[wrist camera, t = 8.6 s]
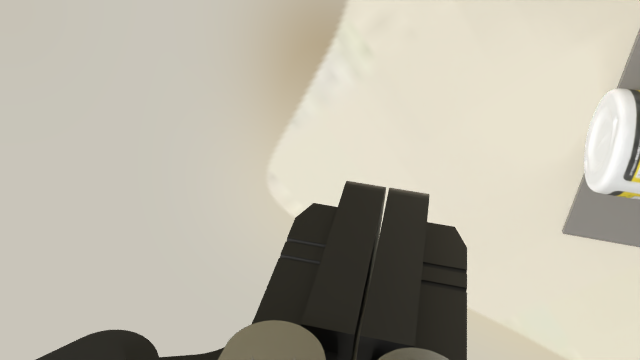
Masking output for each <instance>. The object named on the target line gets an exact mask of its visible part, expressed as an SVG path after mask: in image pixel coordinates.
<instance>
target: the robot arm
mask: <svg viewBox="0 0 640 360" xmlns="http://www.w3.org/2000/svg"><path fill="white" fill-rule="evenodd" d="M385 193H386V187H381V186H375V185H369V184H362V183H356V182H350V181H346V183H345V186H344V190H343V193H342V196H341V199H340V202H339V205H338V207H333V206H328V205H322V204H316V203H313V204H312V205H311V206H309V207H308V208H307V209H306V210H305V211H303V212H302V213H301V214H300V215H299V216H297V217H296V218H295V220H294V223H293V225H292V228H291V230H290V232H289V235H288V237H287V242H286V243H285V245H284V247H283V250H282V252H281V256H280V258H279V259H278V262H277V264H276V267H275V269H274V272H273V274H272V276H271V279H270V281H269V284H268V286H267V289H266V291H265V294H264V296H263V298H262V301H261V303H260V306H259V308H258V311H257V313H256V316H255V318H254V320H253V322H252V324H251V325H249V326H247V327H245V328H244V329H241V330H240V331H239V332H237V333H236V334H235V335H234V336H233V337H232V338H231V339H230V340H229V341H228V343H227V344H226V346H225V347H224V348H222V349H219V350H217V351H213V352H209V353H205V354H198V355H186V356H172V357H159V356H158V353H157V350H156V349H155V347H154V346H153V344H152V343H151V342H150V341H149V340H148V339H146V338H145V337H143V336H141V335H139V334H137V333H134V332H131V331H126V330H106V331H101V332H97V333H93V334H90V335H87V336H85V337H83V338H80V339H78V340H76V341H74V342H72V343H70V344H68V345H66V346H64V347H61V348H59V349H57V350H55V351H53V352H51V353H49V354H47V355H45V356H43V357H40V358H38V359H36V360H467V293H466V289H467V274H466V272H467V247H466V245H465V244H464V242H463V240H462V238H461V237H460V235H459V233H458V232H457V230H456V228H455V227H452V226H446V225H440V224H434V223H429V222H427V215H428V205H429V194H425V193H419V192H412V191H406V190H400V189H394V188H389V192H388V197H387V202H386V207H385V212H384V217H383V222H382V227H381V221H382V214H383V207H384V200H385ZM380 228H381V232H380ZM379 235H380V237H379Z"/></svg>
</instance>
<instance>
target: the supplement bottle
mask: <svg viewBox="0 0 640 360" xmlns="http://www.w3.org/2000/svg"><path fill="white" fill-rule="evenodd" d="M584 172H585V179H586V182H587V185H588V186H589V188H590V189H591V190H593V191H594V192H597V193H601V194H607V195H613V196H619V197H626V198H633V199H639V200H640V90H632V89H621V88H616V89H612V90H610V91H609V92H607V93H606V94H605V95H604V96H603V98H602V99H601V101H600V102H599V104H598V106H597V108H596V110H595V112H594V115H593V117H592V120H591V122H590V125H589V129H588V133H587V138H586V144H585V153H584Z"/></svg>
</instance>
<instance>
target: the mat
mask: <svg viewBox="0 0 640 360" xmlns="http://www.w3.org/2000/svg"><path fill="white" fill-rule="evenodd" d="M617 88H621V89H632V90H640V30H639V32H638V35H637V37H636V40H635V43H634V45H633V48H632V50H631V53H630V56H629V58H628V61H627V63H626V66H625V69H624V71H623V74H622V76H621V79H620V82H619V84H618V87H617ZM562 232H563V234H568V235H574V236H579V237H585V238H591V239H596V240H602V241H608V242H613V243H619V244H625V245H630V246H636V247H640V200H639V199H633V198H626V197H619V196H613V195H607V194H601V193H597V192H594V191H593V190H591V189H590V188H589V186H588V185H587V182H586V179H585V173H584V175H583V178H582V181H581V183H580V186H579V188H578V191H577V194H576V196H575V199H574V202H573V204H572V207H571V209H570V212H569V215H568V217H567V220H566V222H565V225H564V228H563V230H562Z"/></svg>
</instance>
